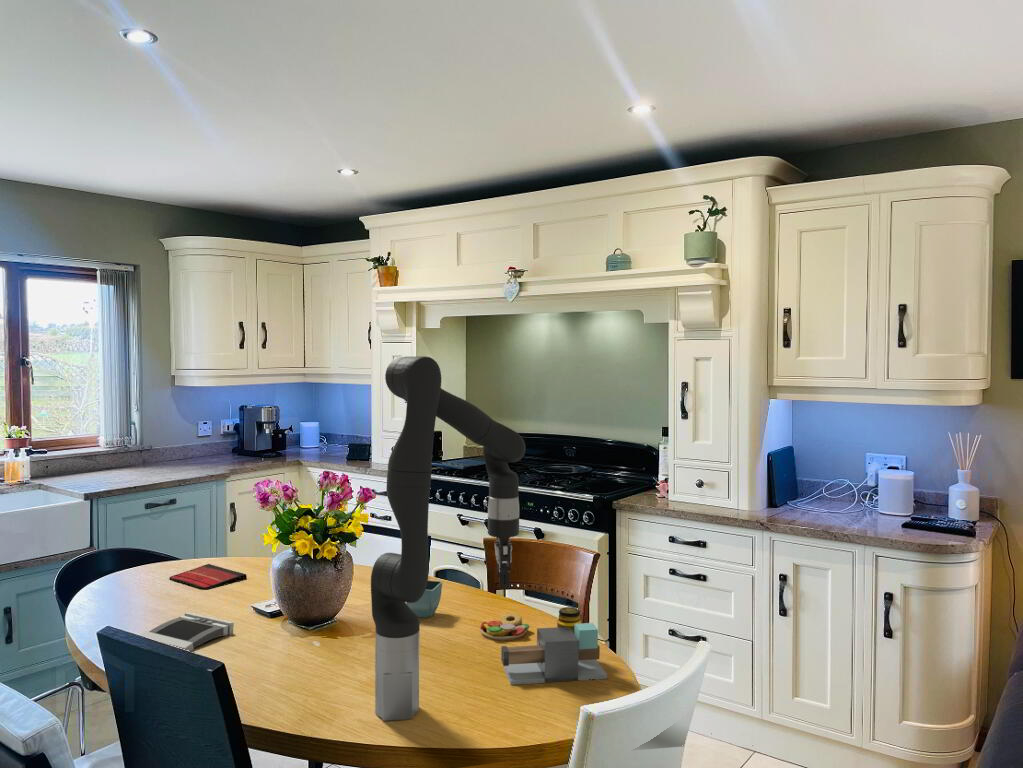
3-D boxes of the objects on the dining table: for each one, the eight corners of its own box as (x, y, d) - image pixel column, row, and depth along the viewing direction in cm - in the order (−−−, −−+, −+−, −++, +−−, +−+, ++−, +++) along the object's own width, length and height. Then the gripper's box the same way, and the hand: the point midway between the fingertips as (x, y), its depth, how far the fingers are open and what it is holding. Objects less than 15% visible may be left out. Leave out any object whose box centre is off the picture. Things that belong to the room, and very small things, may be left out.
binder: (209, 562, 267) (247, 573, 255) (209, 569, 267) (247, 580, 255) (166, 575, 254) (204, 587, 242) (166, 582, 254) (204, 594, 242)
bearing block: (578, 680, 179) (578, 640, 178) (544, 682, 177) (545, 642, 177) (568, 665, 188) (569, 626, 187) (536, 666, 186) (537, 628, 186)
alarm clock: (233, 622, 206) (184, 637, 191) (232, 639, 206) (182, 656, 191) (188, 612, 214) (137, 626, 199) (187, 629, 213) (136, 644, 199)
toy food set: (517, 622, 218) (517, 611, 218) (536, 638, 206) (536, 626, 205) (473, 628, 213) (473, 616, 213) (490, 645, 200) (490, 633, 200)
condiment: (575, 664, 188) (575, 616, 188) (544, 657, 192) (545, 610, 192) (587, 654, 194) (587, 607, 194) (557, 648, 199) (557, 602, 198)
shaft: (599, 660, 182) (599, 646, 182) (503, 666, 178) (503, 651, 178) (595, 654, 186) (595, 641, 186) (501, 660, 182) (501, 646, 182)
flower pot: (403, 618, 219) (403, 587, 219) (414, 608, 228) (414, 578, 227) (432, 621, 217) (432, 590, 217) (442, 611, 225) (442, 581, 225)
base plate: (606, 678, 180) (607, 674, 180) (510, 684, 176) (510, 680, 176) (596, 663, 189) (596, 659, 189) (504, 668, 185) (504, 664, 185)
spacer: (597, 648, 182) (597, 629, 181) (579, 649, 181) (579, 630, 181) (592, 641, 186) (592, 622, 186) (574, 642, 185) (574, 623, 185)
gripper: (522, 521, 176) (521, 591, 177) (516, 508, 190) (515, 573, 191) (489, 521, 175) (488, 591, 176) (486, 509, 190) (485, 573, 190)
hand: (502, 582), depth 184 cm, fingers open, 8 cm apart
